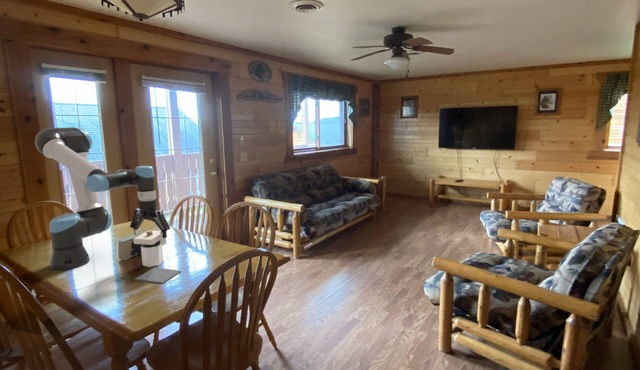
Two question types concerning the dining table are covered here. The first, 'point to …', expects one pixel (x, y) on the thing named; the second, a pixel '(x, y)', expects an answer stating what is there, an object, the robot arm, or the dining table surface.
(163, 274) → the mat
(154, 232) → the lid
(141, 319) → the dining table surface
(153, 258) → the jar
